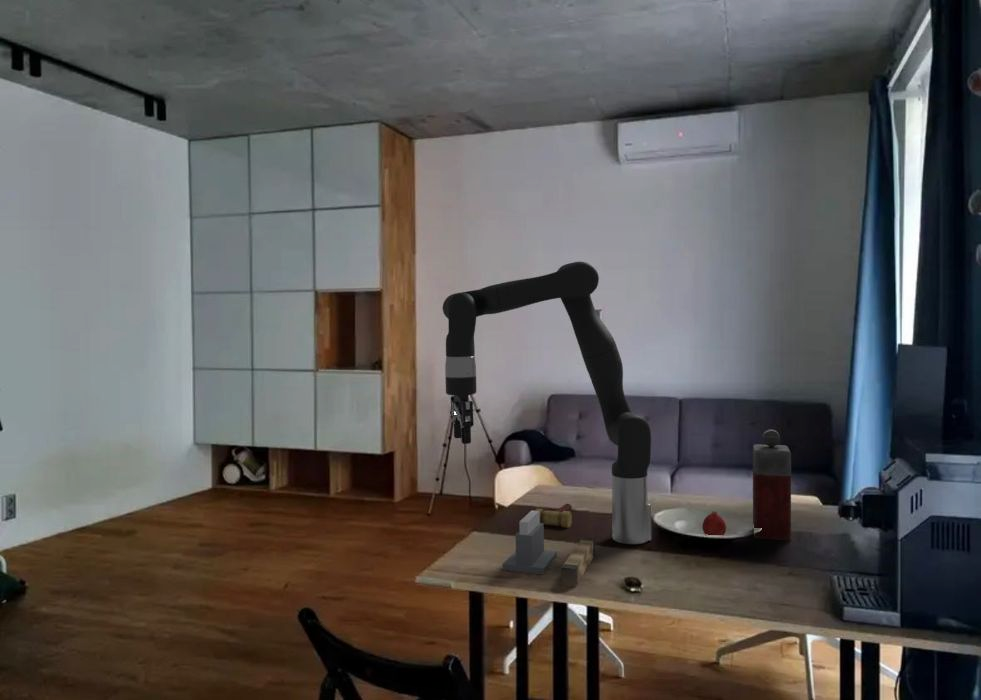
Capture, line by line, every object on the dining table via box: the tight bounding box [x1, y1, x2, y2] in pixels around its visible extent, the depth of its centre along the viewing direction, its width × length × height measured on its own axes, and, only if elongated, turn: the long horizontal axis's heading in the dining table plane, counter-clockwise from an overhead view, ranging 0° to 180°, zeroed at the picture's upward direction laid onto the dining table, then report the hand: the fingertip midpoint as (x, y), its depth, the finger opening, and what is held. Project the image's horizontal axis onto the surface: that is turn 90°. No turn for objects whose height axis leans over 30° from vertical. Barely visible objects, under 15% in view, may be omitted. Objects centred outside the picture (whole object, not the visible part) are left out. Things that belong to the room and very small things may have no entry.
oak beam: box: [560, 536, 596, 588], centre depth 160 cm, size 22×3×4 cm, turn 160°
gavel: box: [534, 503, 573, 529], centre depth 203 cm, size 21×5×10 cm
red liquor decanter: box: [752, 429, 792, 542], centre depth 184 cm, size 9×11×28 cm
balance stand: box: [502, 510, 558, 576], centre depth 164 cm, size 10×12×12 cm
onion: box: [702, 510, 727, 536], centre depth 178 cm, size 6×6×8 cm
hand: (462, 440), depth 168 cm, fingers open, 8 cm apart
